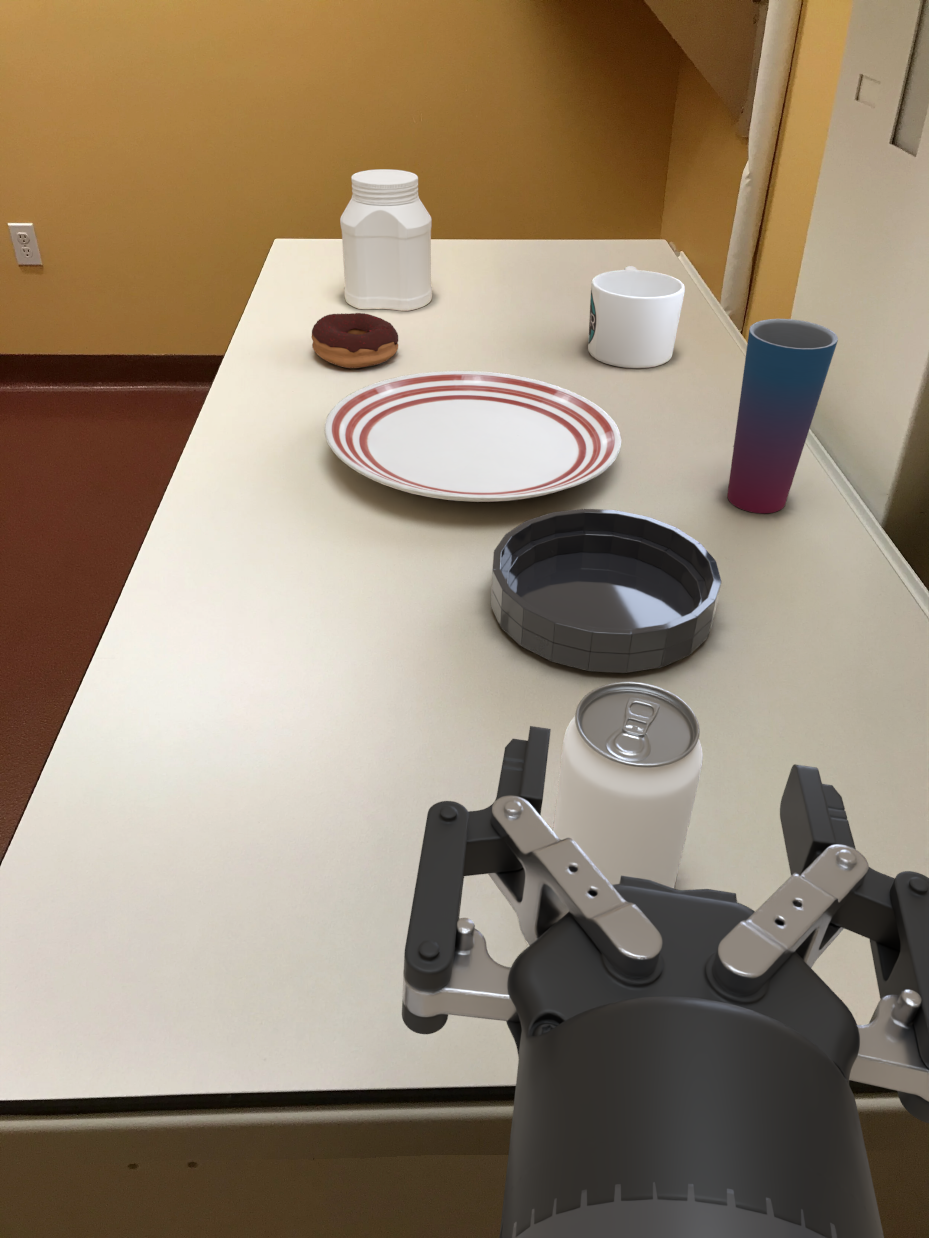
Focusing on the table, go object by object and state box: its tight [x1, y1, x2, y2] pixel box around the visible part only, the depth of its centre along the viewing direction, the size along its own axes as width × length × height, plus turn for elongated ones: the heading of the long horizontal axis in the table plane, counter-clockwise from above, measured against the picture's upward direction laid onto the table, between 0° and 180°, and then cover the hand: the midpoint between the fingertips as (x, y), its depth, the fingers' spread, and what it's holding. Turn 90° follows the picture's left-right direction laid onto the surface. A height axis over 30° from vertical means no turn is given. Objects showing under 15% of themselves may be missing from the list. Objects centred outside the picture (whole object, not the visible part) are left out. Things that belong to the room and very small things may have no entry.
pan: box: [490, 508, 723, 674], centre depth 70 cm, size 16×16×4 cm
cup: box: [726, 318, 839, 514], centre depth 80 cm, size 7×7×15 cm
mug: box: [587, 265, 686, 369], centre depth 111 cm, size 13×10×8 cm
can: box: [552, 681, 704, 889], centre depth 47 cm, size 6×6×12 cm
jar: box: [339, 168, 433, 312], centre depth 123 cm, size 12×10×15 cm
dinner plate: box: [324, 370, 622, 503], centre depth 90 cm, size 27×27×3 cm
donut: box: [311, 312, 399, 369], centre depth 109 cm, size 10×10×4 cm
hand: (664, 765), depth 32 cm, fingers open, 8 cm apart
